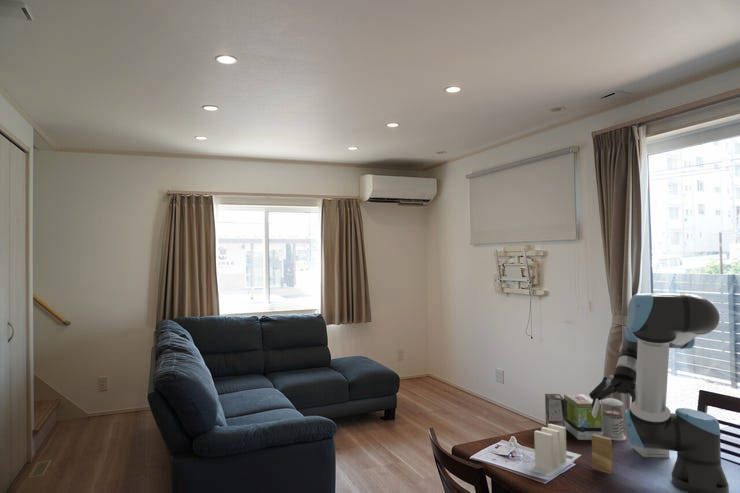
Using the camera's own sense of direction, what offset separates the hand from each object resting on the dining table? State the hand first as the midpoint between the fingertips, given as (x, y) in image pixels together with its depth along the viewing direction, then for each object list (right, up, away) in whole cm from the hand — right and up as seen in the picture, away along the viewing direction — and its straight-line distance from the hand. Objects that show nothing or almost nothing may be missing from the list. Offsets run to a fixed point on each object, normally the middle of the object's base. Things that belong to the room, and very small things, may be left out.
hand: (612, 420), depth 173 cm
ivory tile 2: (-23, -15, -2) cm, 27 cm away
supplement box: (+18, -15, +8) cm, 25 cm away
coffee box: (-10, -16, +27) cm, 33 cm away
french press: (+14, -16, +26) cm, 34 cm away
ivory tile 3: (-27, -15, -5) cm, 31 cm away
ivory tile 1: (-19, -15, +2) cm, 24 cm away
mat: (-21, -15, 0) cm, 26 cm away
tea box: (+2, -16, +29) cm, 33 cm away
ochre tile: (-8, -15, -8) cm, 19 cm away
